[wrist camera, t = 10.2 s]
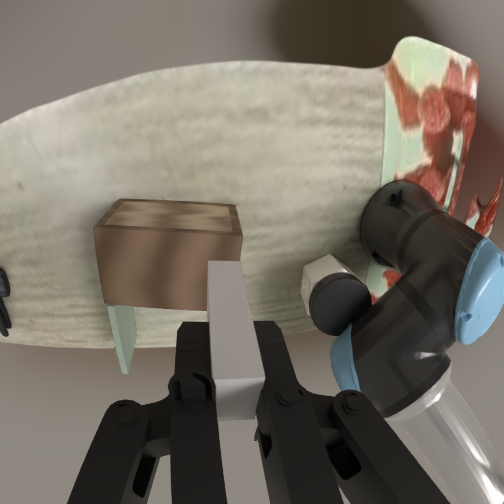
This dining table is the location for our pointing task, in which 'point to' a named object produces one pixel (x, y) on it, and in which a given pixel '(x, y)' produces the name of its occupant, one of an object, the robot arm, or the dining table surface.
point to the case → (163, 251)
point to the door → (123, 333)
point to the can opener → (3, 290)
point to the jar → (333, 295)
